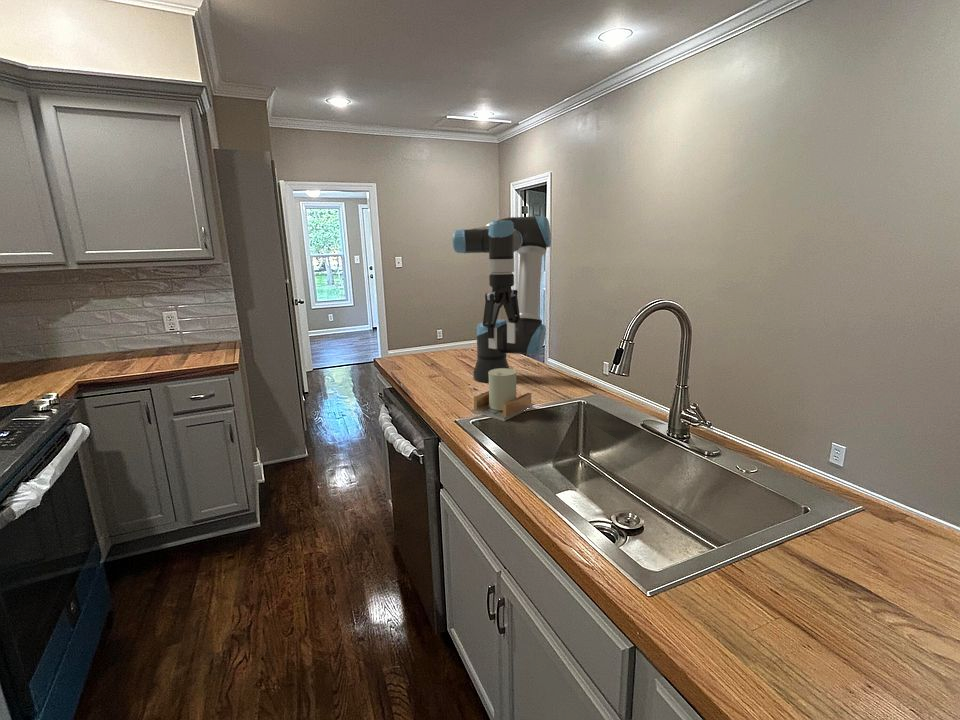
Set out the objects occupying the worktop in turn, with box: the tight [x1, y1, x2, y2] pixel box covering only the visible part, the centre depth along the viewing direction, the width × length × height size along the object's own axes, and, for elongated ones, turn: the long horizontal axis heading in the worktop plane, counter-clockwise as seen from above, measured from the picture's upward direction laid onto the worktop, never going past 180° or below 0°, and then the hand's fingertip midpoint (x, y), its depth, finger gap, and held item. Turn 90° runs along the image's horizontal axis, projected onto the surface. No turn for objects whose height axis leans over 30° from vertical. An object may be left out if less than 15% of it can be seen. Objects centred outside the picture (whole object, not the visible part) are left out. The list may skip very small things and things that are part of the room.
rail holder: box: [471, 390, 534, 422], centre depth 155 cm, size 16×13×5 cm
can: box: [488, 368, 518, 411], centre depth 154 cm, size 9×9×12 cm
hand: (502, 345), depth 151 cm, fingers open, 9 cm apart
